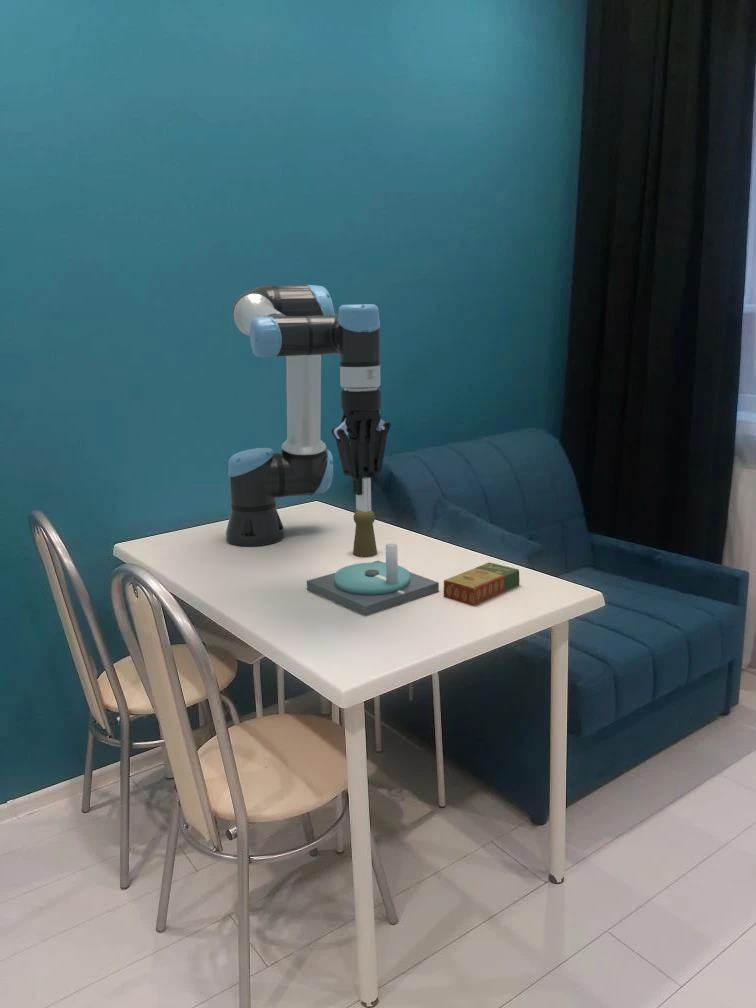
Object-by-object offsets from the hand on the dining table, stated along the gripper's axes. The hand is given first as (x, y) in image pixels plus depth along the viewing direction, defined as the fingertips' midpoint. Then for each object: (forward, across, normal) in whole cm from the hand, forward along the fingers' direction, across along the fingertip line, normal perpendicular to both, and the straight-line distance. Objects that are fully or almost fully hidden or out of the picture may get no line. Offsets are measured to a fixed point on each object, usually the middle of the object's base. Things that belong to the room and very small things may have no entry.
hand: (363, 509), depth 152 cm
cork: (+21, +22, +28) cm, 41 cm away
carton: (+21, +24, -10) cm, 33 cm away
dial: (+18, +7, +6) cm, 21 cm away
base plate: (+20, +7, +6) cm, 23 cm away
